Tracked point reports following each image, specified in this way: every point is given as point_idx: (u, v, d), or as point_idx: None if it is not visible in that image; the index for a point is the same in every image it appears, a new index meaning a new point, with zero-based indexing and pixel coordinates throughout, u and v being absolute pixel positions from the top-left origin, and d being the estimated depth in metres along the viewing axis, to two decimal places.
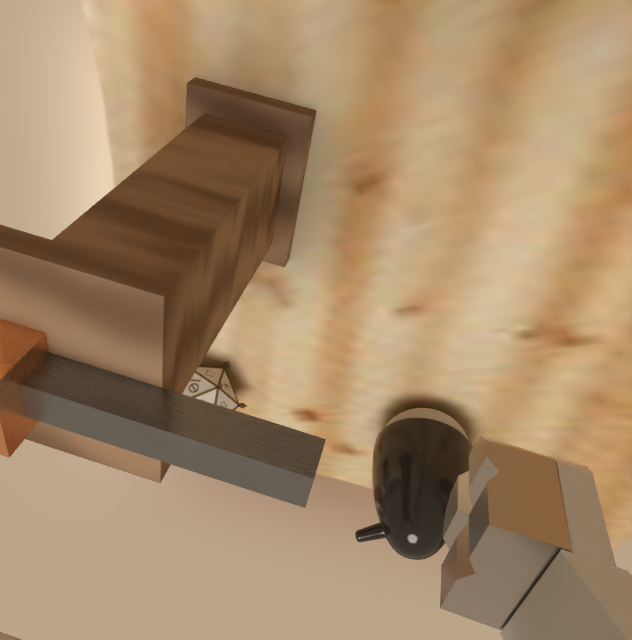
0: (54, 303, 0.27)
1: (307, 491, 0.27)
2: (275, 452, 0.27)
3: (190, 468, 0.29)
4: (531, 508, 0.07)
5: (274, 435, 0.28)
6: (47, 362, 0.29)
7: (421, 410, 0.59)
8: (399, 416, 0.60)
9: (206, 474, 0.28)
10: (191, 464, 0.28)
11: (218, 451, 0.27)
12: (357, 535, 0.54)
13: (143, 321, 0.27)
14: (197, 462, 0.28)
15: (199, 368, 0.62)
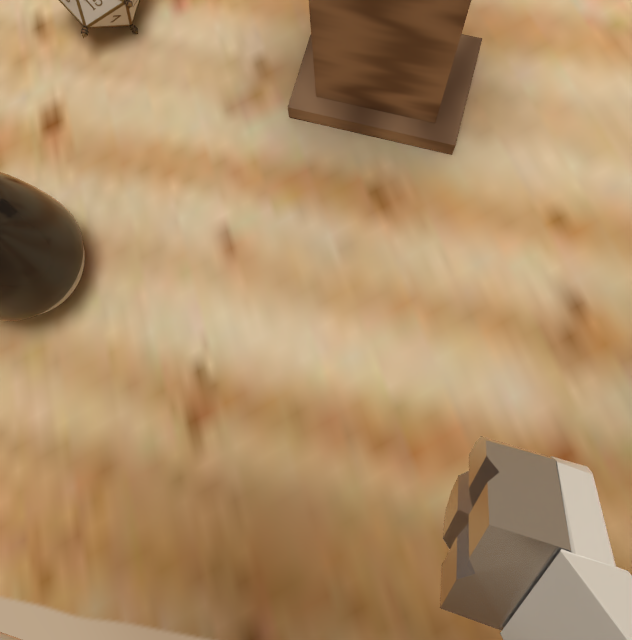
0: None
1: None
2: None
3: None
4: (531, 508, 0.07)
5: None
6: None
7: (84, 255, 0.46)
8: None
9: None
10: None
11: None
12: None
13: None
14: None
15: None
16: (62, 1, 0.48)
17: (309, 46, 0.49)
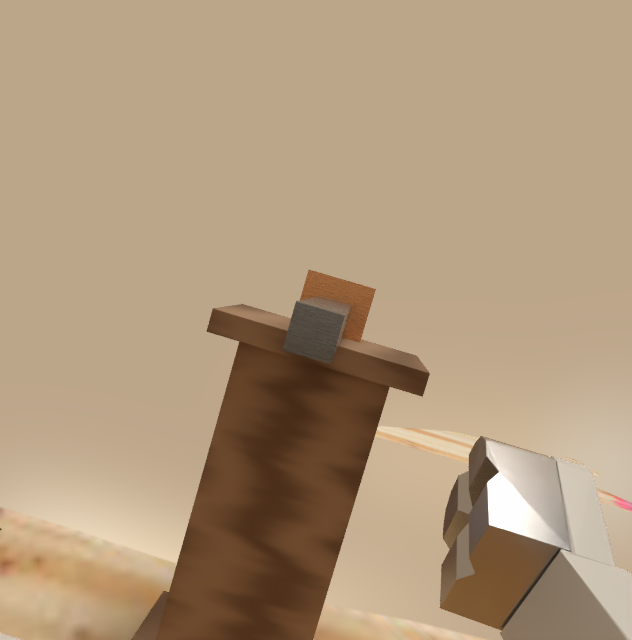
0: (388, 352, 0.41)
1: (324, 309, 0.28)
2: (342, 327, 0.30)
3: (310, 299, 0.34)
4: (531, 508, 0.07)
5: None
6: (344, 329, 0.42)
7: None
8: None
9: (308, 299, 0.33)
10: (316, 301, 0.33)
11: (343, 310, 0.32)
12: None
13: (399, 362, 0.37)
14: (321, 303, 0.33)
15: None
16: None
17: (147, 620, 0.44)
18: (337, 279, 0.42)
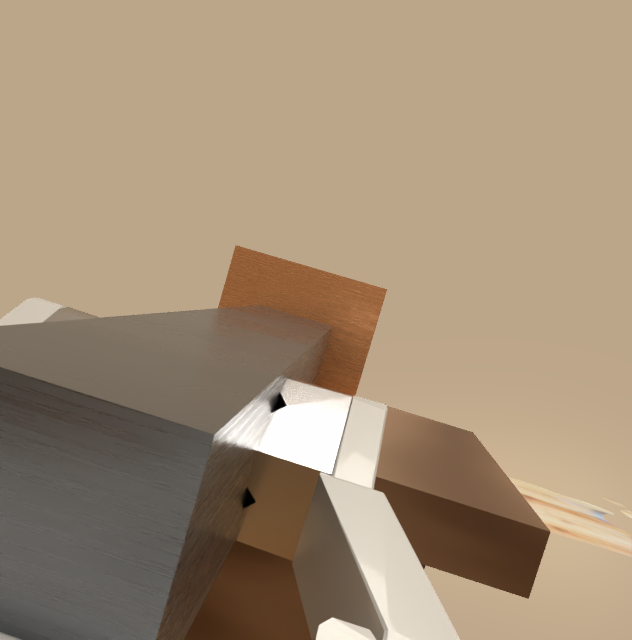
0: (417, 436, 0.18)
1: (84, 388, 0.04)
2: (245, 453, 0.06)
3: (179, 315, 0.10)
4: (306, 436, 0.07)
5: (229, 526, 0.07)
6: (315, 380, 0.18)
7: None
8: None
9: (159, 315, 0.09)
10: (197, 320, 0.10)
11: (279, 356, 0.09)
12: None
13: (457, 489, 0.13)
14: (209, 327, 0.10)
15: None
16: None
17: None
18: (300, 267, 0.19)
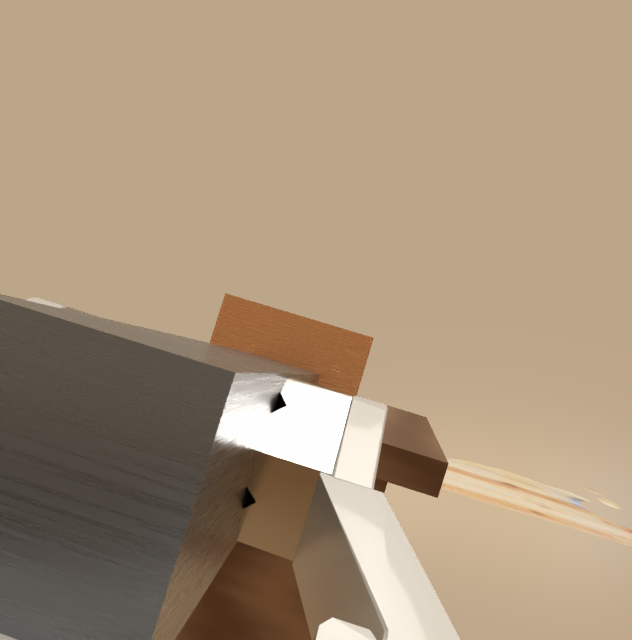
0: (387, 418, 0.29)
1: (107, 330, 0.04)
2: (251, 440, 0.06)
3: None
4: (306, 437, 0.07)
5: (229, 520, 0.06)
6: None
7: None
8: None
9: (157, 331, 0.09)
10: (194, 341, 0.10)
11: (277, 369, 0.09)
12: None
13: (403, 443, 0.25)
14: (206, 346, 0.10)
15: None
16: None
17: None
18: (288, 315, 0.19)
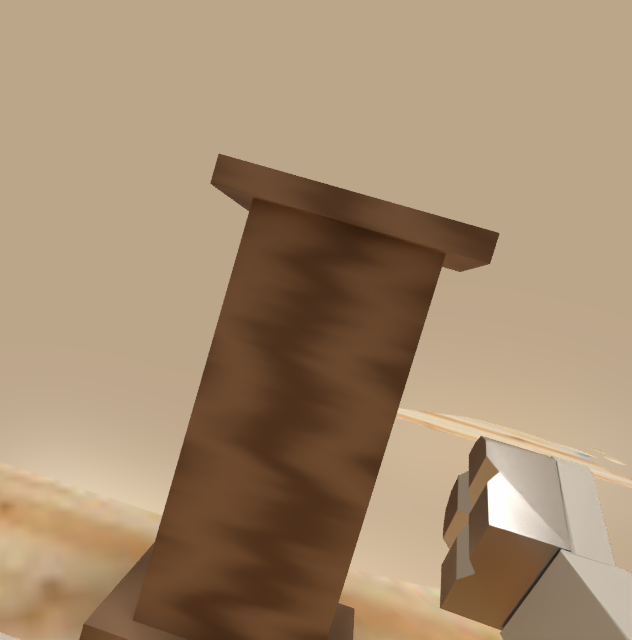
0: None
1: None
2: None
3: None
4: (531, 508, 0.07)
5: None
6: None
7: None
8: None
9: None
10: None
11: None
12: None
13: None
14: None
15: None
16: None
17: (133, 571, 0.35)
18: None
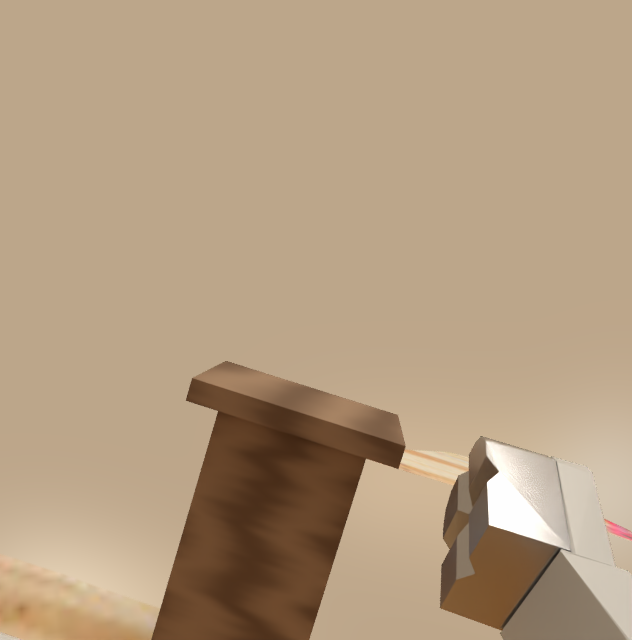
0: (368, 415, 0.42)
1: None
2: None
3: None
4: (531, 507, 0.07)
5: None
6: None
7: None
8: None
9: None
10: None
11: None
12: None
13: (376, 433, 0.37)
14: None
15: None
16: None
17: None
18: None
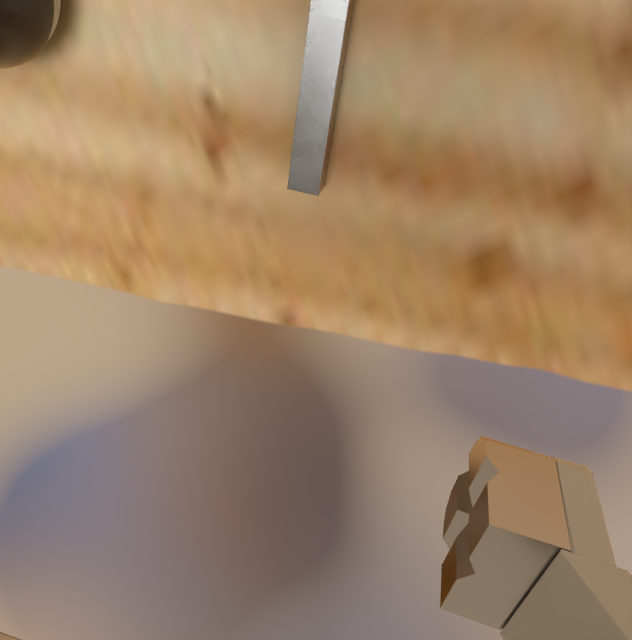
0: None
1: (305, 191, 0.44)
2: (324, 166, 0.43)
3: (299, 109, 0.41)
4: (531, 508, 0.07)
5: (327, 158, 0.44)
6: None
7: None
8: None
9: (297, 121, 0.41)
10: (304, 111, 0.41)
11: (324, 133, 0.41)
12: None
13: None
14: (307, 116, 0.41)
15: None
16: None
17: None
18: None
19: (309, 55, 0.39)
